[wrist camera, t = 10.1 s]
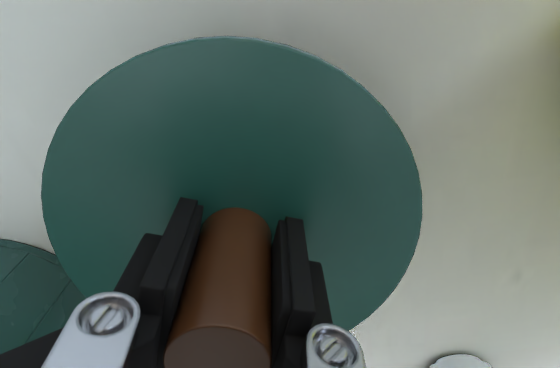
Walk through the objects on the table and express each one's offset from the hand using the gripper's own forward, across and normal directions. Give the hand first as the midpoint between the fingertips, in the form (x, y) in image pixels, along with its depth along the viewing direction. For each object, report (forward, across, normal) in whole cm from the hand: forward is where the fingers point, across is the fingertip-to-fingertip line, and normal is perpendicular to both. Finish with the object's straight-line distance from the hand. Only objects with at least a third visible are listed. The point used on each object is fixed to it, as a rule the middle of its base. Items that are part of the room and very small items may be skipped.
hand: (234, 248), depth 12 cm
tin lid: (+1, 0, 0) cm, 1 cm away
